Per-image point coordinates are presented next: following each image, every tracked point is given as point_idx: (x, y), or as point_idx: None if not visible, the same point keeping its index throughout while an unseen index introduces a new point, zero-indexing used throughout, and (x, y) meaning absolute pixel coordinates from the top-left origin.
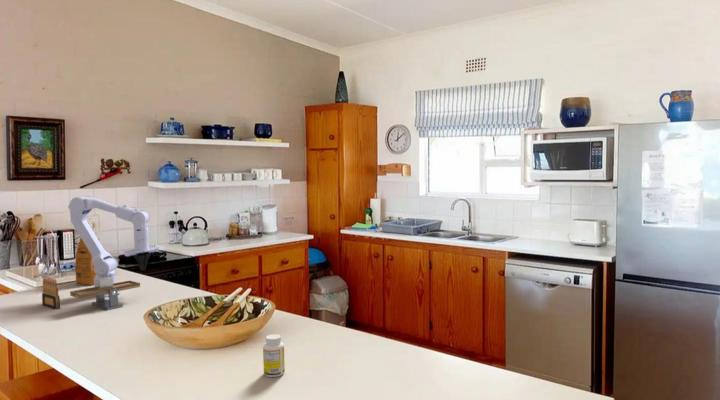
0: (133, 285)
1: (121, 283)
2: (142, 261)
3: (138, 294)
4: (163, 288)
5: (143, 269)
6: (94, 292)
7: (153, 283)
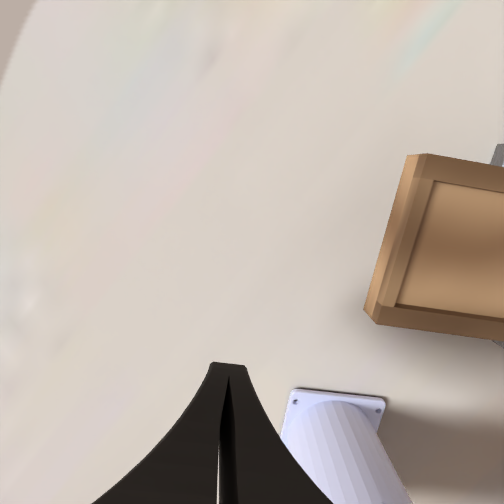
0: (480, 166)
1: (458, 314)
2: (266, 450)
3: (256, 299)
4: (84, 288)
5: (236, 370)
6: None
7: (48, 428)
